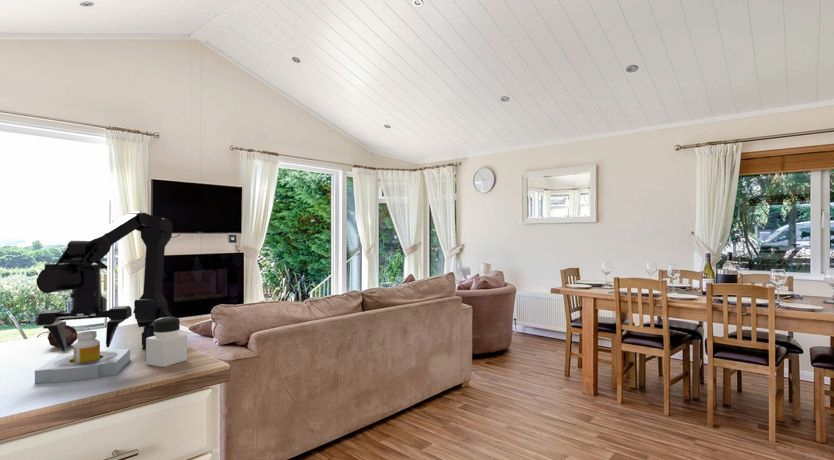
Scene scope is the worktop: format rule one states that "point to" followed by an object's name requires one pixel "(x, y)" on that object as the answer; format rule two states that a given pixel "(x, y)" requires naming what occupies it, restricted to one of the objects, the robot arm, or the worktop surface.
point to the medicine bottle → (166, 343)
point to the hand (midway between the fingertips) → (86, 349)
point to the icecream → (70, 337)
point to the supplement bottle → (86, 347)
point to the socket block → (82, 367)
